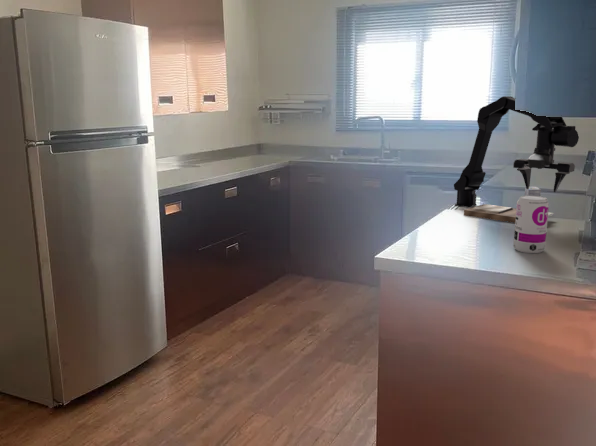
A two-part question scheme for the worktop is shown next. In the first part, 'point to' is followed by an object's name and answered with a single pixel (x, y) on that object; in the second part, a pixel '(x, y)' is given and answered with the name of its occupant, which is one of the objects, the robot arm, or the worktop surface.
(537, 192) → the medicine box
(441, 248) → the worktop surface
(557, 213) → the worktop surface
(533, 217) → the supplement can
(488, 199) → the worktop surface
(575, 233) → the worktop surface
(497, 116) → the robot arm
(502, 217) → the tan backing board
